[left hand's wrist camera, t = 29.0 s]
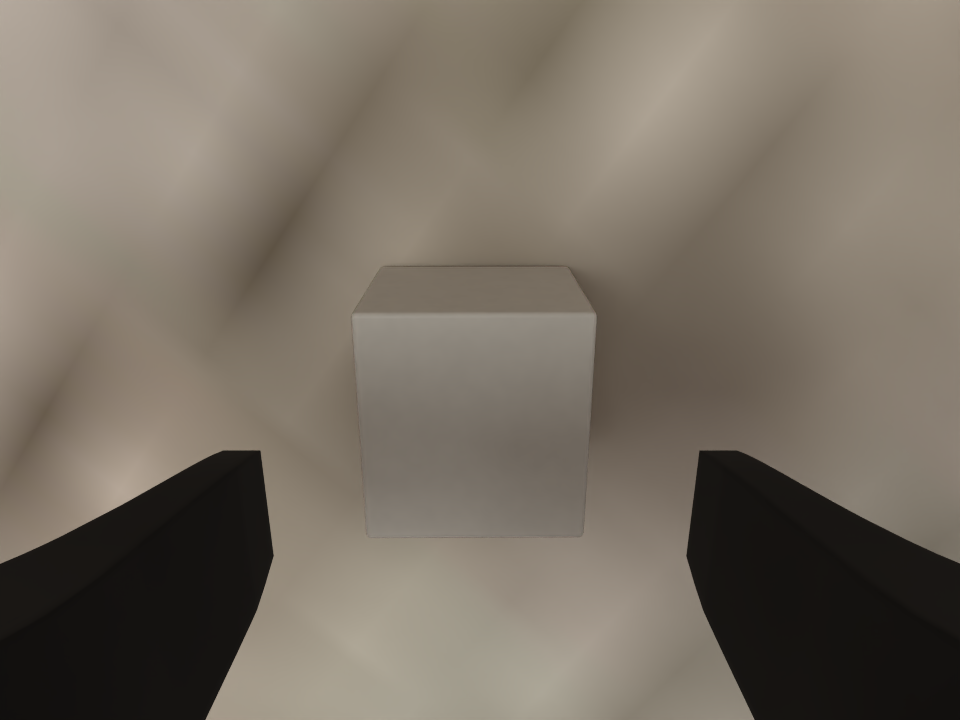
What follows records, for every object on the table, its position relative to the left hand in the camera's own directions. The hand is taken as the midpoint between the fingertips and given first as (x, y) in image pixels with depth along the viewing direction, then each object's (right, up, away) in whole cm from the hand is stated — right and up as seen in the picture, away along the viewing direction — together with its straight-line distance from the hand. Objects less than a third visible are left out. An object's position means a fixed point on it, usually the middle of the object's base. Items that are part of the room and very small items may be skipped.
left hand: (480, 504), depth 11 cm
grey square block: (0, +2, +6) cm, 7 cm away
